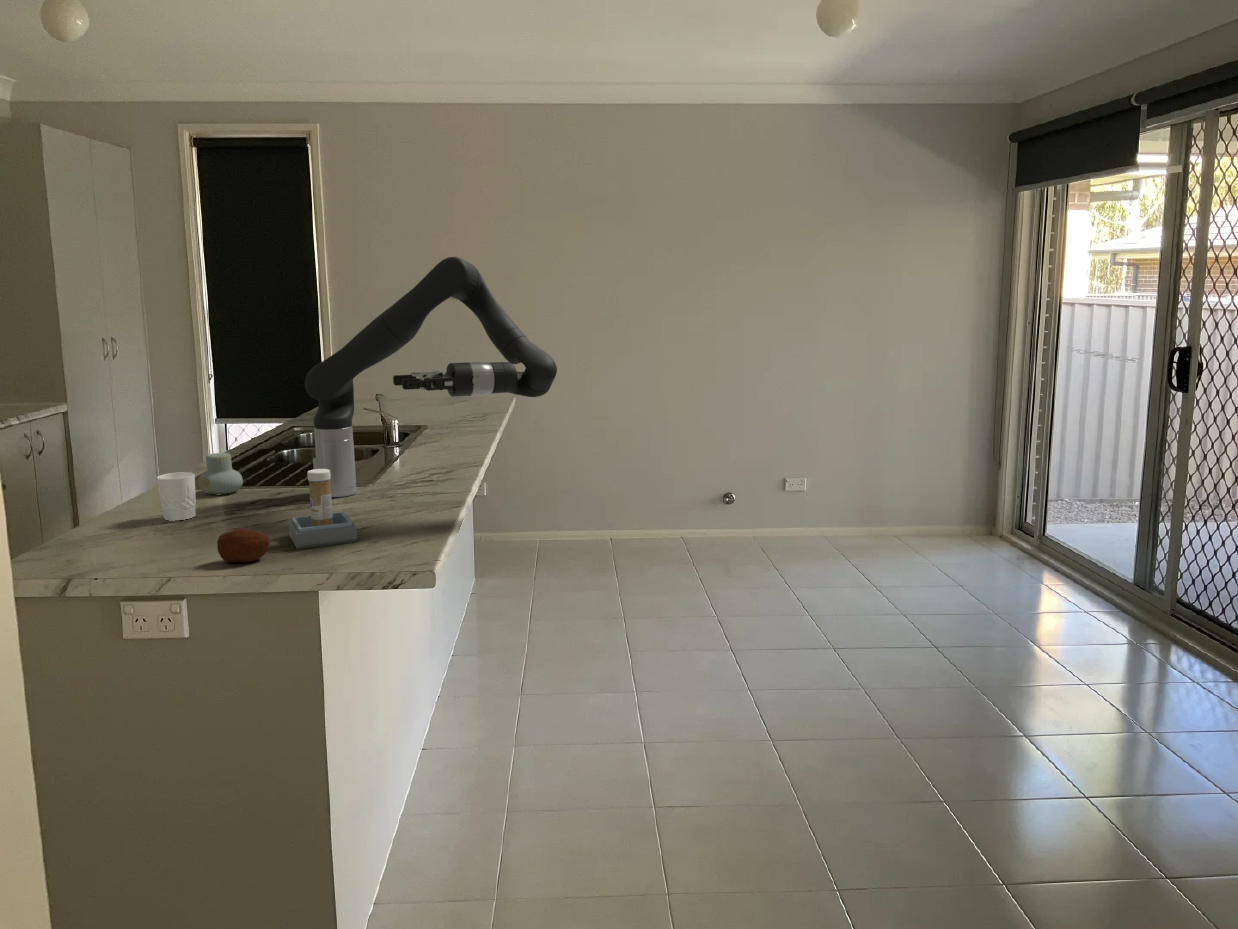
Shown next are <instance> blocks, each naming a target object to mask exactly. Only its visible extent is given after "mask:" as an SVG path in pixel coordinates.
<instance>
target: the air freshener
mask: <svg viewBox="0 0 1238 929" xmlns="http://www.w3.org/2000/svg"><path fill="white" fill-rule="evenodd" d="M205 459H206V461H205V462H206V471H205V472H204V473H202V474H201V475H200V476H199V477H198V486H199V487H200V489H201V491H202V492H203V493H206V494H207V495H209V494H224V495H228V494H227V493H229V494H232V493H235V492H236V491H238V490H240V488H242V486H243V484H244V479H243V476H242V474H241V473H240V472H239V471H237V470H235V469H233V466H232V465H233V464H232V455H231V454H230V453H229V452H217V453H210V454H207V455H206V456H205ZM231 492H232V493H231Z"/></svg>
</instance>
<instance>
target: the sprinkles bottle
mask: <svg viewBox="0 0 1238 929" xmlns="http://www.w3.org/2000/svg"><path fill="white" fill-rule="evenodd" d="M306 472H307V474H306V476H307V480H308V486H309V503H310V507H309V508H310V516H311V519H312V527H314V526H323V525H331V524H333V519H332V517H333V513H334V512H333V501H332V500H333V499H332V498H333V497H331V489H330V478H331V476H330V470H328V469H314V468H313V469H311V470H308V471H306Z"/></svg>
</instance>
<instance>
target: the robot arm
mask: <svg viewBox="0 0 1238 929" xmlns="http://www.w3.org/2000/svg"><path fill="white" fill-rule="evenodd" d="M450 298H453V299H455V300H458V301H460V302H461V303H462V304H463V305H465V306H466V307H467V308H468V309H470V310H471V312H472V313H473V314H474V315H475V316H476V317H477V319H478V320H479V322H480V323H481V325H482V326H483V329H484V332H485V333H486V335H487V336H488V339H489V340H490V341H491V343H492V344H493V346H494V347H495V348H496V349H497V351H499V353H500V354H501V356H503V357H504V359H505V360H506V361H496V362H483V361H472V362H471V361H468V362H465V361H464V362H450V363H448V364H447V366H446V370H445V373H444V372H443V371H440V370H433V371H421V372H411V373H410V374H399V375H397V374H395V375H393V376H392V380H393V382H392V383H393V385H394V386H396V387H397V386H401V388H402V389H403V390H405V391H407V390H422V391H428V392H430V391H443V390H447V393H448V394H449V396H451V397H452V398H453V397H454V398H455V397H456V398H457V397H470V396H473V397H475V396H484V395H490V394H506V393H508V394H512V395H515V396H522V397H527V398H538V397H541V396H544V395H546V394H547V393H548V392H549V390H550V389H551V387H552V385H553V383H554V380H555V378H556V377H557V374H558V367H557V364H556V362H555V360H554V359H553V357H552V356H551V355H550V354H548V353H547V352H546V351H544V349H541V348H540V347H539V346H538V345H536V344H535V343H533V342H532V341H530V339H529V338H527V336H526V335H525V333H524V332H523V331H522V330H521V329H520V327H519V326H518V325H517V324H516V323H515V322H514V320H513V319H512V318H511V317H510V316H509V314H507V312H506V311H505V310H504V309H503V307H502V305H501V304H500V303H499V302H498V301H497V299H496V298H495V296H494V295H493V293H492V292H491V290H490V288H489V287H488V284H487V283H486V282H485V280H484V278H483V276H482V274H481V273H480V271H479V269H478V268H477V267H476V266H475V265H474V264H472V263H470V262H469V261H467V260H466V259H463V258H460V257H458V256H448V257H446V258H444V259H442V260H441V261H439V262H438V263H437V264H436V265H435V266H434V267H433V268H432V269H431V270H430V271H429V272H428V273H427V274H426V275H425V276H424V277H423V278H422V279H421V280H419V282H418V283H417V284H416V285H415V286H414V287H413V288H412V289H410V290H409V291H408V292H406V294H404V295H403V296H401V297H400V298H399V299H398V300H397V301H395V302H394V303H393V304H392V305H391V306H389V307H388V308H386V309H385V310H384V311H383V312H381V313H380V314H379V315H378V316H376V317H375V318H374V319H373V320H372V321H371V322H369V324H367V325H365V327H364V328H362V330H360V331H359V332H358V333H357V334H356V335H355V336H354V337H353V338H351V339H350V341H348V342H347V343H346V344H345V345H344V346H343V347H342V348H341V349H339V350H338V351H336V352H335V353H333V354H332V355H331V356H329V357H327V358H326V359H324V360H322V361H320V362H318V363H317V364H316V365H314V366H313V367H312V368H311V369H309V371H308V372H307V374H306V375H305V376H306V377H305V381H304V387H305V390H306V393H307V394H308V395H309V397H310V398H312V399H314V400H316V401H318V408H317V410H316V414H314V416H313V429H314V445H315V446H314V447H315V457H313V458H312V464H313V465H312V466H313V469H328V470H330V476H331V478H330V489H331V498H342V497H348V496H353V495H356V494H357V478H356V476H357V474H356V465H355V464H356V461H355V460H356V459H355V445H354V430H353V418H354V417H353V416H354V413H355V391H354V390H355V389H354V388H355V387H354V378H356V377H357V376H358V375H359V374H361V373H362V372H364V371H366V370H367V369H369V368H370V367H373V366H375V365H377V364H379V363H380V362H382V361H384V360H385V359H387V358H389V357H390V356H393V355H394V354H395V353H396V352H398V351H400V349H402V348H403V347H405V346H406V345H407V344H408V343H409V342H410V341H412V340H413V339H414V338H415V336H416V335H417V334H418V333H419V331H420V329H421V328H422V325H423V324H424V322H425V320H426V318H427V316H428V315H429V314H430V313H431V312H432V311H433V310H434V309H436V308H437V307H438V306H439V305H441V304H442V303H444V302H445V301H447V300H448V299H450ZM518 364H523V366H524V368H525V369H524V370H523V371H517V368H516V366H515V365H518ZM417 377H418V378H417Z"/></svg>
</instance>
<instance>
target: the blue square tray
mask: <svg viewBox="0 0 1238 929" xmlns="http://www.w3.org/2000/svg"><path fill="white" fill-rule="evenodd" d="M332 513H333V517H332V519H333V524H331V525H323V526H314V527H312V519H311V515H304V516H296V517H295V516H294V517H291V520H288V521H287V522H288V523H287V526H288V535H289V537H290V539H291V542H293V544H294V546H295V548H296V549H297V550H302V549H303V550H304V549H311V548H319V546H320V547H327V546H335V545H341V544H342V545H343V544H349V543H358V541H359V540H358V530H357V529H358V528H357V525H356V524H355V523H353V521H352V520H351V518H350V517H348V515H347V514H345V512H343V511H339V512H332Z"/></svg>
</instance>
